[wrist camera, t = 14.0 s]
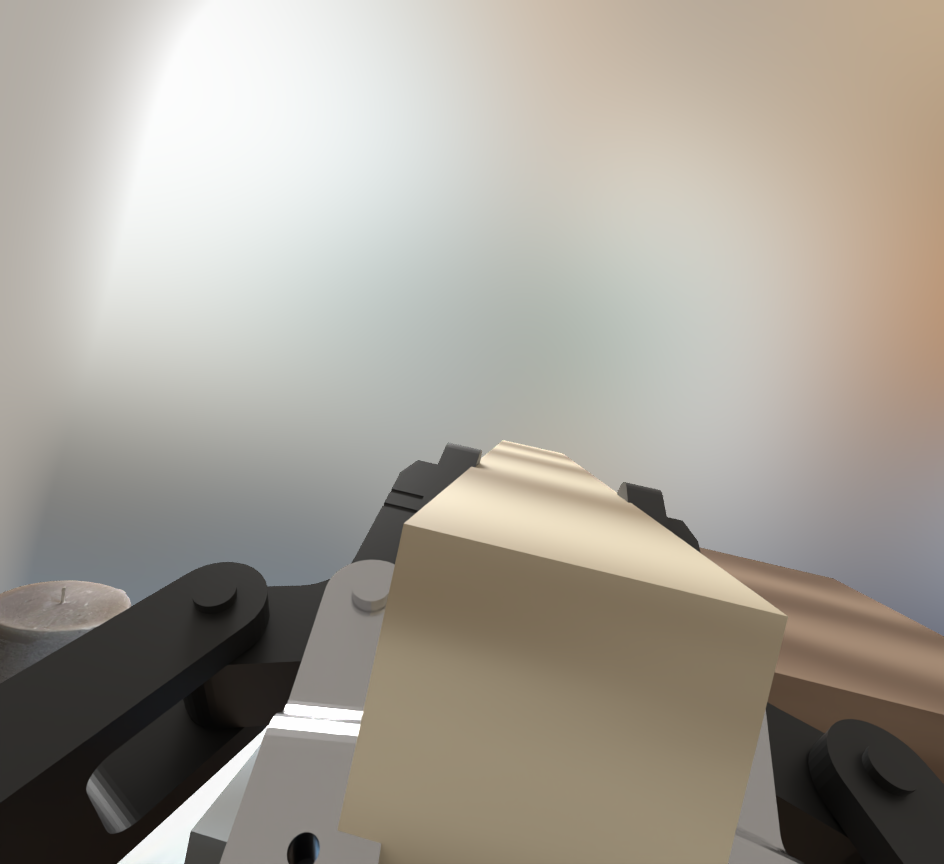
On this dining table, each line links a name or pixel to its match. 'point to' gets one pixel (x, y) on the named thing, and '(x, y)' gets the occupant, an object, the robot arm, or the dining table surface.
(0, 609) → the pillar candle
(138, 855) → the dining table surface
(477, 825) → the maple rod
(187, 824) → the dining table surface
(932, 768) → the block
